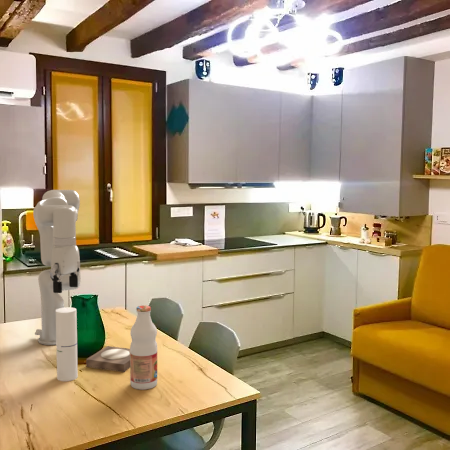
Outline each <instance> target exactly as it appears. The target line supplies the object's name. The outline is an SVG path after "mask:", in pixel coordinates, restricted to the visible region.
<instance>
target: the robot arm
mask: <svg viewBox="0 0 450 450" xmlns="http://www.w3.org/2000/svg"><path fill="white" fill-rule="evenodd" d="M41 198H42V199H41V200H40V201H38V202H37V204H36V206H35V207H33V211H32V212H33V213H32V214H33V219H34V222H35V223H34V224H35V226H36V227H37V230H38V233H39V237H40V239H39V241H40V259H41V260H40V261H41V264H42V265H44V266H46V267H50V269H45V270H42V271H41V272H39V274H38V277H37V278H38V287H39V292H40V294H39V295H40V312H41V315H40V316H41V320H40V321H41V329H40V328H37V329H36V331H35V332H34V335H35V336H39V338H38V339H37V341H38V343H39V344H41V345H45V346H53V345H54V346H55V345H56V310H57V309H59V308H65V301H64V298H63V296H62V295H61V294H62V293H63V291H71V290H72V291H73V290H77V289H79V288H80V286H81V283H82V281H81V260H80V249H79V247H78V246H77V234H76V230H77V229H76V228H77V225H76V223H77V221H78V216H79V211H80V207H81V206H80V205H81V203H80V202H81V199H80V195H79V194H78V192H77V191H76V190H74V189H51V190H48V191H46V192H44V194H43V195H42V197H41Z"/></svg>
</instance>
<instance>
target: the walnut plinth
mask: <svg viewBox="0 0 450 450" xmlns="http://www.w3.org/2000/svg"><path fill="white" fill-rule="evenodd" d="M85 362H86V364H85V365H86V368H93V369H99V370H105V371H106V370H107V371H113V372H120V373H125V372H126V371H128V370H130V348H126V347H118V346H109V345H107V346H105V347H104V348H101V349H100V350H99V351H97V352H96V353H94V354H93V355H90V356H89V357H87V358H86V359H85Z"/></svg>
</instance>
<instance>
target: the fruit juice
mask: <svg viewBox="0 0 450 450" xmlns="http://www.w3.org/2000/svg"><path fill="white" fill-rule="evenodd" d="M135 310H136V313H137V315H136V317H135V318H136V319H135V322H134V324H132V326H131V327H130V339H131V341H130V342H131V343H130V346H129V349H130V368H129V371H130V372H129V377H130V379H129V380H130V381H129V382H130V387H131V388H133V389H135V390H141V391H142V390H150V389H153V388H155V387H156V386H157V385H158V342H157V341H156V338H157V334H158V331H157V330H158V329H157V327H156V325H155V323H154V322H153V321H152V317H151V312H152V309H151V306H149V305H147V304H146V305H138V306H137V307H136V309H135Z"/></svg>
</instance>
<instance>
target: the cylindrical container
mask: <svg viewBox="0 0 450 450" xmlns="http://www.w3.org/2000/svg"><path fill="white" fill-rule="evenodd" d="M77 313H78V312H77V308H75V307H69V306H68V307H65V306H64V308H59V309H57V310H56V347H55V348H56V379H57V380H58V381H60V382H71V381H73V380H76V379H77V378H78V377H79V375H78V374H79V373H78V370H79V369H78V329H77V328H78V326H77V325H78V323H77V322H78V321H77V320H78V318H77Z"/></svg>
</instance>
